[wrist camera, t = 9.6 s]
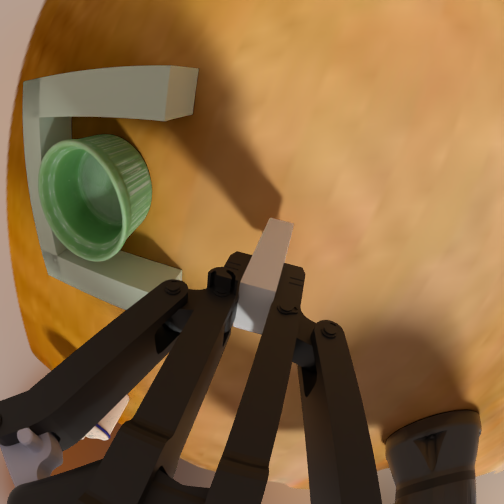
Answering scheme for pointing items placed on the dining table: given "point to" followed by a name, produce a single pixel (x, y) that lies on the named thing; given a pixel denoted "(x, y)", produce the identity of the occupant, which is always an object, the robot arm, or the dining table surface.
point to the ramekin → (94, 194)
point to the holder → (60, 128)
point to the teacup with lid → (108, 421)
